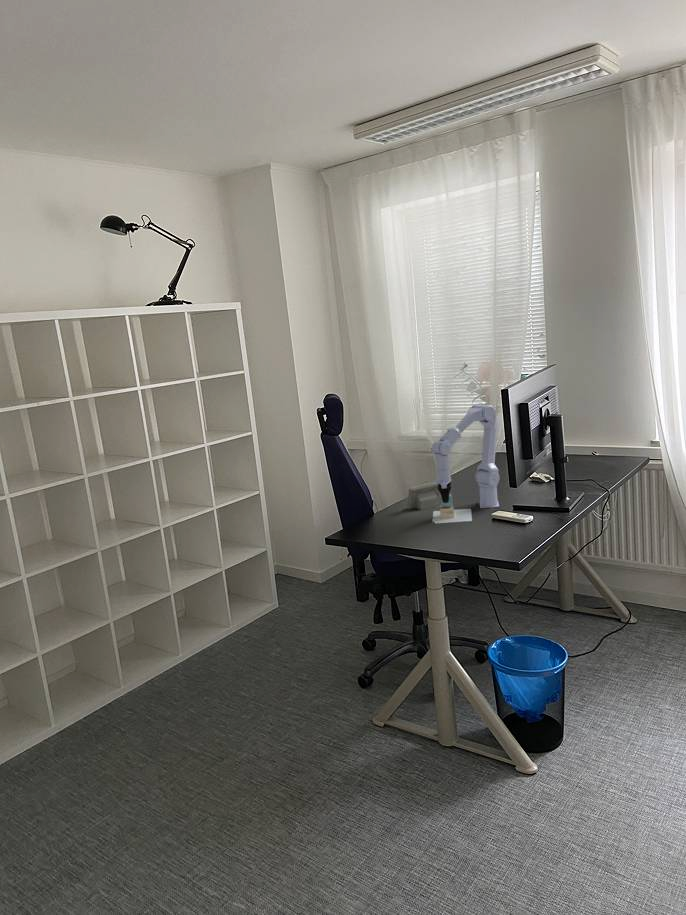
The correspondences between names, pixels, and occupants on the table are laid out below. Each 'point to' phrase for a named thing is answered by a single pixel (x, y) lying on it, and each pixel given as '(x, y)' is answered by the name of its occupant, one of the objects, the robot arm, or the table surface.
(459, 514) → the board
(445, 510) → the base block
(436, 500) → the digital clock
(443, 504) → the teal block
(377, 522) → the table surface
